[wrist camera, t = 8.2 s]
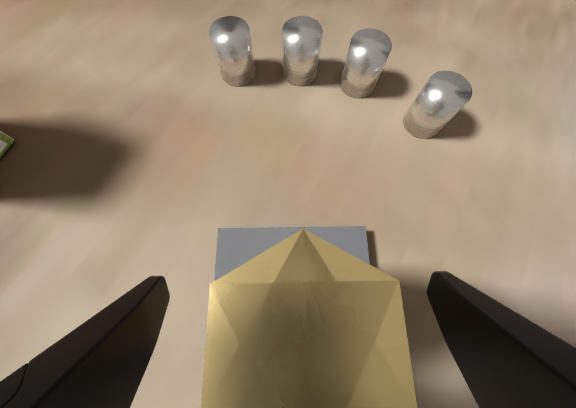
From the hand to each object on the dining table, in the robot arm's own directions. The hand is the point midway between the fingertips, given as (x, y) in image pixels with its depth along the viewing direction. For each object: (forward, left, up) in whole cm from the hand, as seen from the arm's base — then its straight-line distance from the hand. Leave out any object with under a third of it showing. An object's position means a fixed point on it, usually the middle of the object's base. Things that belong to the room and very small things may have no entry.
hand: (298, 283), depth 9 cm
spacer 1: (+15, -11, -9) cm, 21 cm away
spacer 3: (+6, -17, -9) cm, 20 cm away
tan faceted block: (-1, +1, -8) cm, 8 cm away
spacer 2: (+11, -15, -9) cm, 20 cm away
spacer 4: (0, -17, -9) cm, 19 cm away
